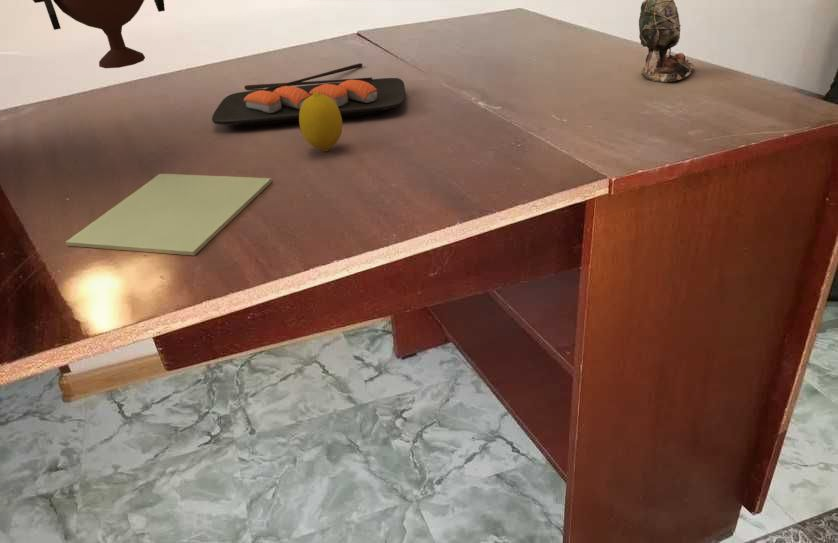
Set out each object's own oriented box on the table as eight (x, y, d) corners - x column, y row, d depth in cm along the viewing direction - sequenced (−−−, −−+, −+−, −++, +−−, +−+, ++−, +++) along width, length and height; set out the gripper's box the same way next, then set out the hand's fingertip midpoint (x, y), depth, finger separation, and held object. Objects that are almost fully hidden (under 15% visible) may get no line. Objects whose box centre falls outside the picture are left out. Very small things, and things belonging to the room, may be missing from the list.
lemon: (354, 146, 94) (346, 87, 90) (327, 161, 90) (317, 101, 86) (323, 140, 97) (313, 83, 92) (296, 155, 93) (285, 96, 89)
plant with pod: (616, 78, 109) (625, -63, 98) (668, 63, 113) (681, -74, 103) (657, 90, 103) (671, -59, 92) (709, 72, 107) (728, -71, 97)
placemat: (66, 245, 76) (65, 241, 76) (161, 176, 90) (160, 173, 90) (194, 255, 72) (193, 251, 71) (272, 181, 86) (271, 178, 86)
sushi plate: (209, 136, 102) (203, 110, 100) (245, 77, 128) (241, 56, 126) (406, 117, 102) (404, 91, 100) (403, 62, 127) (401, 40, 125)
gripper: (154, -123, 93) (209, 15, 89) (-44, -103, 84) (7, 51, 81) (149, -173, 86) (209, -25, 82) (-67, -156, 78) (-12, 9, 74)
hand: (109, 13), depth 81 cm, fingers closed on ice cream bowl, 11 cm apart
